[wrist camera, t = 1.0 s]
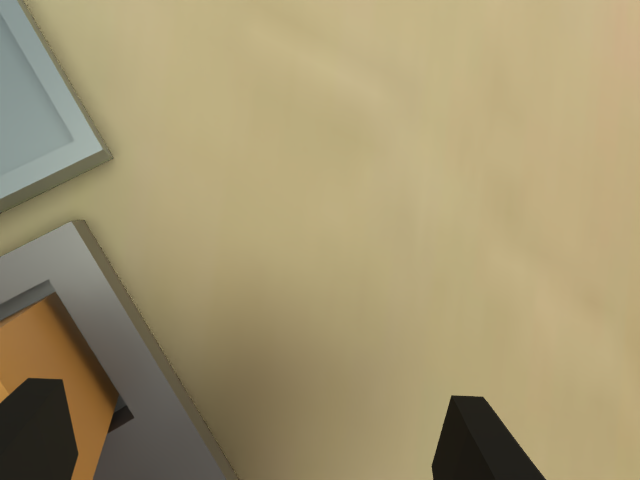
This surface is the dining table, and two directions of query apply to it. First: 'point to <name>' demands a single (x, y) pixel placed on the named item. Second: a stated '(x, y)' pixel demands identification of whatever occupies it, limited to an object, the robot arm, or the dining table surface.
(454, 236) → the dining table surface
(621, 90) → the dining table surface
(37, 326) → the orange rectangular block
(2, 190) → the parts tray
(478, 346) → the dining table surface
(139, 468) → the block
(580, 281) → the dining table surface
